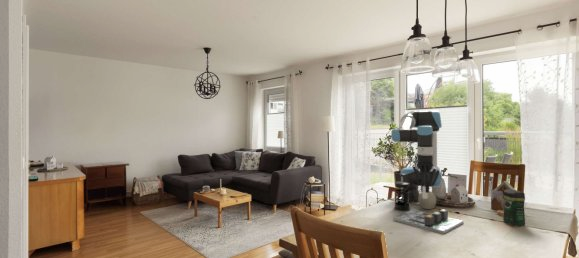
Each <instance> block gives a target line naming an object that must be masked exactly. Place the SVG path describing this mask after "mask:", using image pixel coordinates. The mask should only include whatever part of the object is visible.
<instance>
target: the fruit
mask: <svg viewBox="0 0 579 258" xmlns="http://www.w3.org/2000/svg"><path fill="white" fill-rule="evenodd" d="M420 191H421V188H420V189H418V192H419V194H420V195H419V198H418V200H419V202H418V203H419V206H420V207H421V208H423V209H425V210H432V209H434V208H435V207H436V205H437V197H436V195H435V194H434V192H432V191H430V190H429V192H428V198H426V199H423V192H420Z"/></svg>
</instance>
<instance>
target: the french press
mask: <svg viewBox="0 0 579 258" xmlns="http://www.w3.org/2000/svg"><path fill="white" fill-rule="evenodd" d="M398 175H400V178H401V177H403V175H405V174H403V173H401V172H399V174H398ZM394 184H395V185H394V186H395V187H397V188H396V189H394V207H393V209H394V210H397V211H402V212H408V211H409V212H410V211H411V210H410V202H409V190H405V189H401V188H407V187H409V183H407V182H401V181H394ZM401 191H405V192H401ZM401 194H403V197H401Z"/></svg>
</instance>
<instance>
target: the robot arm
mask: <svg viewBox="0 0 579 258" xmlns="http://www.w3.org/2000/svg"><path fill="white" fill-rule="evenodd" d="M441 119H442V118H441V113H440V111H439V110H435V109H434V110H432V109H430V110H429V109H428V110H413V111H410V112H407V113H405V114H403V116H402V117H401V119H400V121H399V125H398V128H392V130H391V141H392V142H397V143H417V146H416V147H417V148H416V149H417V156H416V158H417V160H416V161H417V163H416V165H415V166H411V167H403V168H402V169H401V170H400V173H403V174H405V175H403V177H401V176H400V182H407V183H409V187H407V188H401V187H400V189H405V190H409V203H419V200H418V198H419V195H420V193H421V192H423V199H426V198H428V192H429V191H430V188H440V186H441V181H442V174H443V172H442V170H440V167H439V166H438V132H439V131H440V129H441V128H442V126H443V125H442V120H441ZM419 187H420V189H421V190H420V191H421V192H420V191H419ZM418 191H419V192H418ZM401 192H405V191H401ZM401 197H403V194H401Z"/></svg>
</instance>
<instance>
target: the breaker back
mask: <svg viewBox="0 0 579 258" xmlns="http://www.w3.org/2000/svg"><path fill="white" fill-rule="evenodd" d="M438 212H439V213H441V219H446V218H448V217H449V211H448V210H447V209H443V208H442V209H440V210H438Z"/></svg>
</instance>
